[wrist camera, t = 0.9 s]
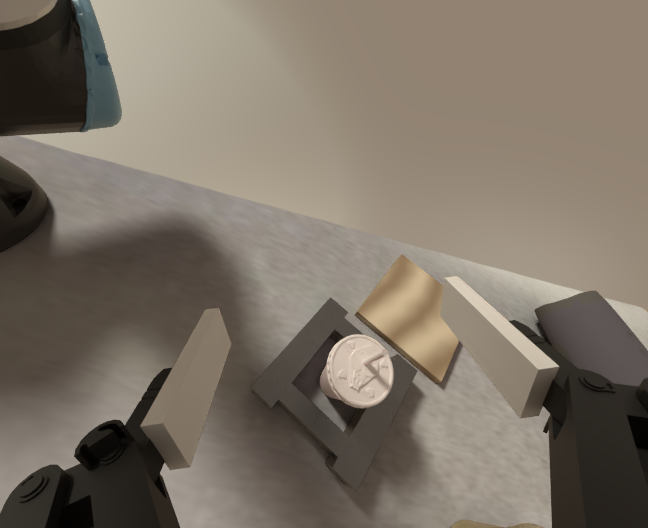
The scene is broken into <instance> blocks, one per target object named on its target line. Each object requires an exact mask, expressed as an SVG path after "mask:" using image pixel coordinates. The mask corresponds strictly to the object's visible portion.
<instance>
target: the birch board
mask: <svg viewBox="0 0 648 528" xmlns="http://www.w3.org/2000/svg"><path fill="white" fill-rule="evenodd" d="M442 295H443V285H441V284H440V283H439V282H437V281H436V280H435V279H434V278H432V277H431V276H430V275H428V274H427V273H426V272H424V271H423V270H422V269H420V268H419V267H418V266H417V265H415V264H414V263H413V262H411V261H410V260H409V259H407V258H406V257H405V256H403V255H401V256H400V257H399V258H398V259H397V261H396V262H395V263H394V265H393V266H392V267H391V268H390V270H389V271H388V272H387V274H386V275H385V276H384V277H383V279H382V280H381V281H380V283H379V284H378V285H377V286H376V288H375V289H374V290H373V292H372V293H371V294H370V295H369V297H368V298H367V299H366V301H365V302H364V303H363V305H362V306H361V307H360V308H359V310H358V311H357V312H356V314H355V315H356V316H357V317H358V318H359V319H361V320H362V321H363V322H364V323H365V324H366V325H368V326H369V327H370V328H371V329H372V330H374V331H375V332H376V333H377V334H378V335H379V336H381V337H382V338H383V339H384V340H385V341H387V342H388V343H389V344H390V345H391V346H393V347H394V348H395V349H396V350H397V351H398V352H400V353H401V354H402V355H403V356H404V357H406V358H407V359H408V360H409V361H410V362H412V363H413V364H414V365H415V366H416V367H417V368H419V369H420V370H421V371H422V372H423V373H425V374H426V375H427V376H428V377H429V378H430V379H432V380H433V381H434V382H435V383H439V382H442V380H443V377H444V375H445V373H446V370H447V368H448V366H449V363H450V361H451V359H452V356H453V354H454V352H455V349H456V347H457V345H458V342H459V340H458V338H457V337H456V336H455V334H454V333H453V332H452V331H451V329H450V328H449V327H448V325H447V324H446V323H445V322H444V320H443V319H442V318H441V316H440V311H441V303H442Z"/></svg>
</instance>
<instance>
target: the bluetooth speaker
mask: <svg viewBox="0 0 648 528" xmlns="http://www.w3.org/2000/svg"><path fill="white" fill-rule="evenodd" d="M535 313H536V315H537V318H538V320H539V322H540V324H541V326H542V328H543V330H544V332H545V333H546V335H547V337H548V339H549V341H550V343H551V345H552V347H553V348H554V349H555V350H556V351H558V352H559V353H560V354H561V355H562V356H564V357H565V358H566V359H567V360H568V361H570V362H571V363H572V364H573V365H574V366H576V367H577V368H578V369H584V370H589V371H592V372H595V373H597V374H600V375H602V376H603V377H605V378H607V379H609V380H610V381H611V382H612V383H615V384H623V385H631V386H639V385H640V384H641V382H642V381H643V379H645V378H648V351H647V349H646V348H645V347H644V346H643V344H642V343H641V342H640V341H639V339H638V338H637V337H636V336H635V334H634V333H633V332H632V331H631V329H630V328H629V327H628V326H627V325H626V323H625V322H624V321H623V320H622V319H621V317H620V316H619V315H618V314H617V313H616V312H615V310H614V309H613V308H612V307H611V306H610V305H609V303H608V302H607V301H606V300H605V299H604V298H603V297H602V296H601V295H599V293H598V292H597V291H589V292H584V293H580V294H577V295H574V296H572V297H570V298H567V299H563V300H560V301H557V302H554V303H550V304H546V305H543V306H541V307H539V308H537V309H535Z"/></svg>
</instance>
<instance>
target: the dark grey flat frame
mask: <svg viewBox="0 0 648 528" xmlns="http://www.w3.org/2000/svg"><path fill="white" fill-rule="evenodd" d="M347 313H348V312H347V311H346V310H345V309H344V308H342V307H341V306H340V305H339V304H338V303H337V302H335V301H334V300H333V299H332V298H331V297H330V299H329V300H328V301H327V302H326V303H325V304H324V305H323V306H322V308H321V309H320V310H319V311H318V312H317V313H316V314H315V315H314V316H313V318H312V319H311V320H310V321H309V322H308V323H307V324H306V325H305V327H304V328H303V329H302V330H301V331H300V332H299V333H298V334H297V336H296V337H295V338H294V339H293V340H292V341H291V342H290V343H289V345H288V346H287V347H286V348H285V349H284V350H283V351H282V352H281V353H280V355H279V356H278V357H277V358H276V359H275V360H274V361H273V362H272V364H271V365H270V366H269V367H268V368H267V369H266V370H265V371H264V373H263V374H262V375H261V376H260V377H259V378H258V379H257V380H256V382H255V383H254V384H253V385H252V386H251V391H252V392H253V393H254V394H255V395H256V396H257V397H258V398H259V399H260V400H261V401H262V402H263V403H264V404H265V405H266V406H267V407H268V408H269V409H271V408H272V407H273V406H274V404H275V403H276V402H278V403H279V404H280V405H281V406H282V407H283V408H284V409H285V410H286V411H287V412H288V413H289V414H290V415H291V416H292V417H293V418H294V419H295V420H296V421H297V422H298V423H299V424H300V425H301V426H302V427H303V428H304V429H305V430H306V431H307V432H308V433H309V434H310V435H311V436H312V437H313V438H314V439H315V440H316V441H318V442H319V443H320V444H321V445H322V446H323V447H324V448H325V449H326V450H327V451H328V452H329V453H330V456H329V457H328V459H327V461H326V462H325V464H326V465H327V466H328V467H329V468H330V469H331V470H332V471H333V472H334V473H335V474H336V475H337V476H338V477H339V478H340V479H341V480H342V481H343V482H344V483H345V484H346V485H347V486H349V487H350V488H352V489H353V490H355V491H356V492H357V490H358V488H359V486H360V484H361V482H362V480H363V478H364V476H365V474H366V472H367V470H368V468H369V466H370V464H371V462H372V460H373V458H374V456H375V454H376V452H377V450H378V448H379V446H380V444H381V442H382V440H383V438H384V436H385V434H386V432H387V430H388V428H389V426H390V424H391V422H392V420H393V418H394V416H395V414H396V412H397V410H398V408H399V407H400V405H401V403H402V401H403V399H404V397H405V395H406V393H407V391H408V389H409V387H410V385H411V383H412V381H413V379H414V377H415V375H416V373H417V370H416V369H415V368H413V367H412V366H411V365H410V364H409V363H407V362H406V361H405V360H404V359H403V358H402V357H400V356H399V355H398V354H397V355H395V356H393V357H391V358H390V359H391V362H392V365H393V371H394V379H393V384H392V388H391V390H390V392H389V394H388V395H387V397H386V398H385V399H384V400H383V401H382V402H380V403H379V404H377V405H374V406H372V407H368V408H358V409H357V410H356V412H355V414H354V415H353V417H352V419H351V420H350V422H349V424H348V425H347V427H346V429H345V430H344V432H343V431H342V430H341V429H339V428H338V427H337V426H336V425H335V424H334V423H333V422H332V421H331V420H330V419H329V418H328V417H327V416H326V415H325V414H324V413H323V412H322V411H321V410H319V409H318V408H317V407H316V406H315V405H314V404H313V403H312V402H311V401H310V400H309V399H308V398H307V397H306V396H305V395H304V394H303V393H302V392H301V391H299V390H298V389H297V388H296V387H295V386H294V385H293V384H292V382H293V381H294V379H295V378H296V377H297V376H298V374H299V373H300V372H301V371H302V369H303V368H304V367H305V366H306V364H307V363H308V362H309V361H310V359H311V358H312V357H313V356H314V354H315V353H316V352H317V351H318V349H319V348H320V347H321V346H322V344H323V343H324V342H325V341H326V339H327V338H328V337H329V336H330V337H331V338H332V339H333V340H334V341H335V342H336V343H338V342H339V341H340V340H342V339H343V338H345V337H347V336H350V335H356V334H360V335H363V334H362V333H361V332H360V331H359V330H358V329H356V328H355V327H354V326H353V325H352V324H351V323H349V322H348V321H347V320H346V319H345V318H344V317H345V316H346V314H347Z"/></svg>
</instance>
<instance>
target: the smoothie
mask: <svg viewBox="0 0 648 528" xmlns="http://www.w3.org/2000/svg"><path fill="white" fill-rule="evenodd" d="M393 379H394V371H393V365H392V362H391V359H390V357H389V355H388V351H387V350H386V349H384V347H383V346H382V345H381V344H380V343H379V342H377V341H376V340H375V339H373V338H371V337H369V336H366V335H360V334H356V335H350V336H347V337H345V338H343V339H342V340H340V341H339V342H338V343H337V344H335V345H334V347H333V348H332V350H331V351H330V353H329V356H328V359H327V365H326V366H325V368H324V370H323V372H322V373H321V376H320V387H321V389H322V391H323V393H324V394H325V395H326V396H328V397H330V398H334V399H338V400H342V401H343V402H344V403H345V404H348V405H350V406H352V407H355V408H368V407H372V406H374V405H377V404H379V403H380V402H382V401H383V400H384V399H385V398H386V397H387V395H388V394H389V392H390V390H391V388H392V384H393Z"/></svg>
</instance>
